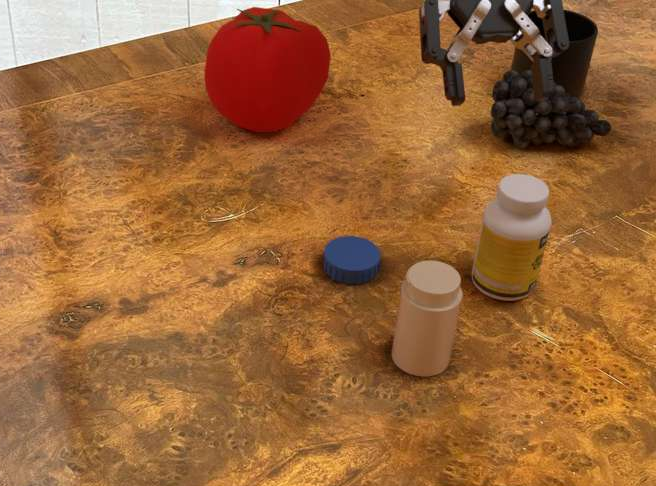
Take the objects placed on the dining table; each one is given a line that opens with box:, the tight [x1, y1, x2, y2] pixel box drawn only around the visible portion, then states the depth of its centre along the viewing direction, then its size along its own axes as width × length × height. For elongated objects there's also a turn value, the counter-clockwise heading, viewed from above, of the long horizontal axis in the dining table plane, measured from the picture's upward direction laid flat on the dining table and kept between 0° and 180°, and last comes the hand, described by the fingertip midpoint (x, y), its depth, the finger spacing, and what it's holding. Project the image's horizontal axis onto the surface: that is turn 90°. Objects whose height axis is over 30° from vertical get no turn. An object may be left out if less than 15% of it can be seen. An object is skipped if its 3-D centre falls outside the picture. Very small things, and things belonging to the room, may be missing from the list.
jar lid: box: [322, 235, 382, 285], centre depth 108 cm, size 6×6×2 cm
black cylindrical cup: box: [510, 8, 599, 100], centre depth 136 cm, size 9×12×9 cm
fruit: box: [485, 69, 612, 150], centre depth 125 cm, size 9×8×15 cm
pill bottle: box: [471, 173, 552, 302], centre depth 104 cm, size 6×6×12 cm
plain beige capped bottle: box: [391, 260, 464, 378], centre depth 96 cm, size 5×5×10 cm
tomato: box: [204, 6, 331, 133], centre depth 126 cm, size 16×14×14 cm
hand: (501, 101), depth 104 cm, fingers open, 8 cm apart
